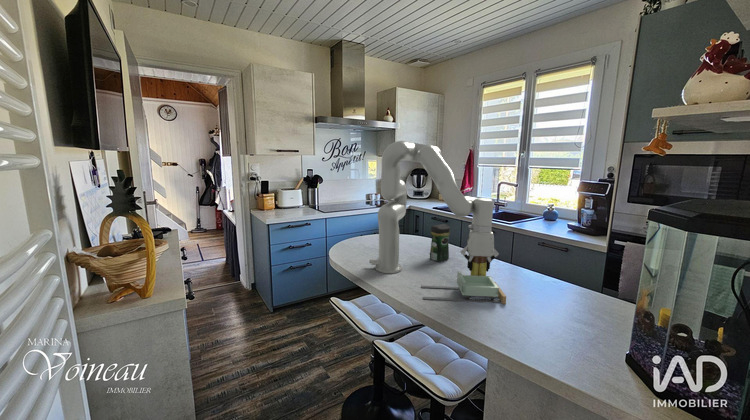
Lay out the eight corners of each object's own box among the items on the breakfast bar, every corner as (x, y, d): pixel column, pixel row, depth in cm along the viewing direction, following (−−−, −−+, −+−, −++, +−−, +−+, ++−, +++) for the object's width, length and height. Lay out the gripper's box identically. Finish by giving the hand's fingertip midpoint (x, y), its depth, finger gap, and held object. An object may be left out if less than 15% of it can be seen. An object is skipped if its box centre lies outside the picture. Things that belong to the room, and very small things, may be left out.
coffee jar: (440, 255, 164) (442, 222, 160) (451, 260, 157) (453, 225, 153) (426, 258, 159) (428, 224, 155) (437, 263, 152) (438, 227, 149)
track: (423, 300, 113) (423, 293, 113) (420, 285, 126) (421, 278, 125) (505, 304, 111) (506, 296, 110) (494, 288, 124) (495, 281, 123)
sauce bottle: (485, 282, 129) (489, 238, 126) (485, 288, 124) (489, 242, 120) (469, 280, 132) (473, 236, 128) (468, 286, 126) (472, 240, 122)
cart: (462, 299, 113) (463, 282, 112) (456, 286, 124) (457, 270, 122) (497, 300, 112) (499, 283, 111) (488, 287, 123) (490, 272, 122)
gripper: (461, 230, 120) (459, 272, 123) (506, 231, 119) (502, 274, 122) (458, 225, 127) (455, 266, 131) (500, 226, 126) (496, 267, 129)
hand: (478, 269), depth 126 cm, fingers closed on sauce bottle, 6 cm apart
